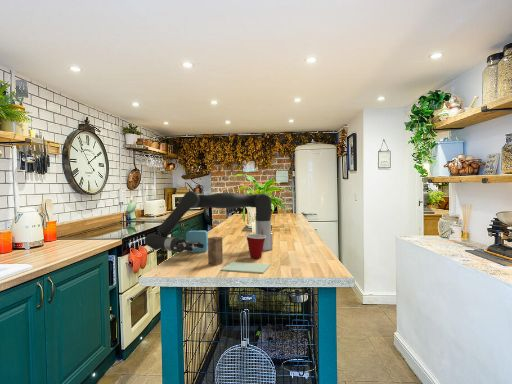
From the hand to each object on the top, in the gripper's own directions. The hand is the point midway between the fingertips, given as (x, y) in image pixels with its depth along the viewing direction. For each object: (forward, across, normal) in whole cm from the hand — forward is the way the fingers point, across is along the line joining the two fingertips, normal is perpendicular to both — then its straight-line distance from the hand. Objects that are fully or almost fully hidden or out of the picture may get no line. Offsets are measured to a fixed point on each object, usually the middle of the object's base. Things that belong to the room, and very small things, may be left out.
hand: (197, 247), depth 164 cm
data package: (-17, +18, +7) cm, 26 cm away
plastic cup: (+22, +21, +7) cm, 31 cm away
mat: (+29, +1, +7) cm, 30 cm away
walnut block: (+11, 0, +7) cm, 13 cm away
